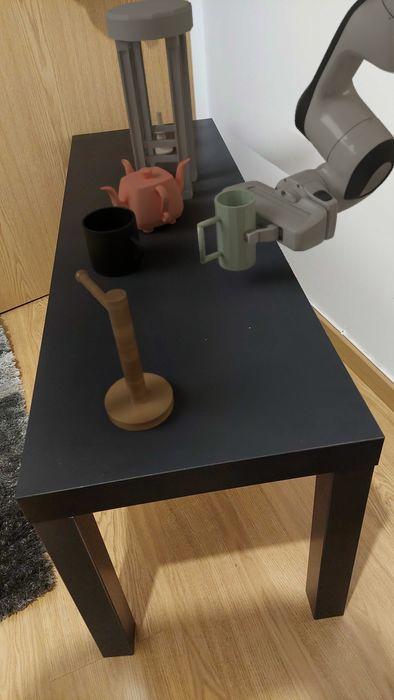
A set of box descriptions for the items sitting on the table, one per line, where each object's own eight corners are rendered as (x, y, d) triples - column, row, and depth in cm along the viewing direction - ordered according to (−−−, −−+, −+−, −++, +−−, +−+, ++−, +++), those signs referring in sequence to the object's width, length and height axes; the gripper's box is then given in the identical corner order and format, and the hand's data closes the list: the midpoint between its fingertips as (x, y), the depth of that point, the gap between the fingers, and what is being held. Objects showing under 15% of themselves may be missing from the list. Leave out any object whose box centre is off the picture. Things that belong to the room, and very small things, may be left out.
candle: (152, 149, 135) (146, 107, 128) (171, 146, 135) (166, 104, 128) (154, 156, 131) (148, 114, 124) (174, 153, 131) (169, 111, 124)
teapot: (109, 237, 102) (98, 185, 94) (130, 204, 112) (121, 154, 104) (180, 239, 99) (174, 185, 91) (194, 205, 109) (190, 154, 102)
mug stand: (186, 408, 67) (171, 298, 55) (126, 442, 63) (96, 332, 51) (129, 345, 77) (106, 240, 65) (75, 372, 73) (39, 266, 61)
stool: (199, 203, 109) (184, 10, 86) (129, 204, 112) (96, 17, 88) (207, 173, 121) (195, -5, 97) (143, 175, 123) (116, 1, 99)
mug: (128, 287, 88) (119, 241, 82) (81, 267, 94) (70, 223, 88) (163, 262, 93) (157, 217, 87) (117, 244, 99) (108, 201, 93)
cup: (240, 246, 87) (239, 185, 80) (263, 261, 83) (264, 198, 76) (191, 268, 83) (184, 205, 76) (213, 284, 79) (208, 220, 72)
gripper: (258, 165, 89) (193, 189, 84) (345, 204, 76) (274, 236, 71) (258, 199, 94) (196, 224, 88) (341, 241, 80) (273, 273, 75)
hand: (231, 229), depth 80 cm, fingers closed on cup, 6 cm apart
